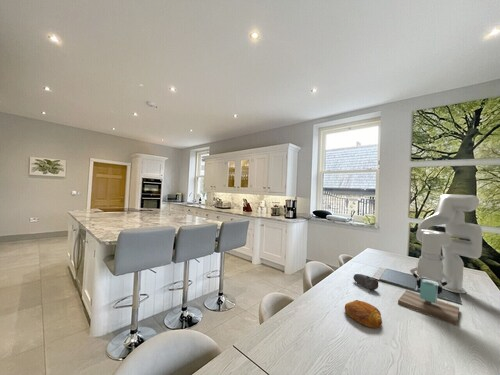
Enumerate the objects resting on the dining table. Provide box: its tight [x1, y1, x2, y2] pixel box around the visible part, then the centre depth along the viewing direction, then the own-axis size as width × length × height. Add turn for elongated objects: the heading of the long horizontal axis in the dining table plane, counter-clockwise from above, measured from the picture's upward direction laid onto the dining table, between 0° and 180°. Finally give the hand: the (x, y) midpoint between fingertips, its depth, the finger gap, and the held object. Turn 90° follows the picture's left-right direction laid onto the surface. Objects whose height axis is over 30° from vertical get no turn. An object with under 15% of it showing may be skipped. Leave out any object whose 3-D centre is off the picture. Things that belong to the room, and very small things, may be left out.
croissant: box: [344, 299, 383, 329], centre depth 96 cm, size 14×16×8 cm
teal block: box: [419, 279, 438, 303], centre depth 109 cm, size 6×6×8 cm
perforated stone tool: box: [353, 273, 379, 291], centre depth 130 cm, size 15×5×7 cm, turn 27°
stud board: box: [397, 289, 460, 326], centre depth 109 cm, size 18×22×11 cm
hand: (428, 290), depth 109 cm, fingers open, 7 cm apart
